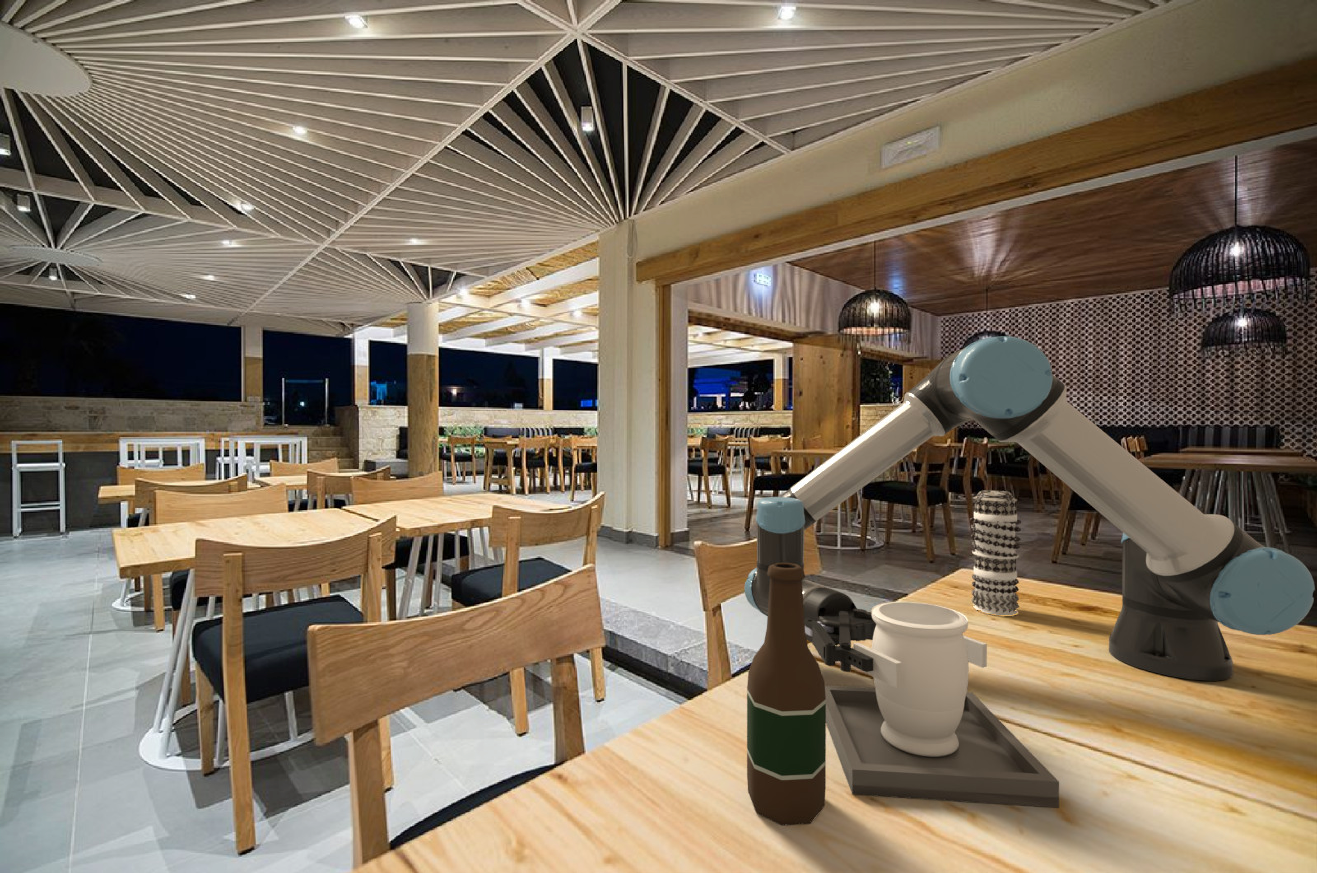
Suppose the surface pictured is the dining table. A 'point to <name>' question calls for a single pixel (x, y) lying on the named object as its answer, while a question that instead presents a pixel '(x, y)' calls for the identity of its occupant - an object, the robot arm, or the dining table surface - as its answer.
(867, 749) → the tray
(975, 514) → the decorative candle
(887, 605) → the jar
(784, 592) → the beer bottle
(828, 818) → the dining table surface
